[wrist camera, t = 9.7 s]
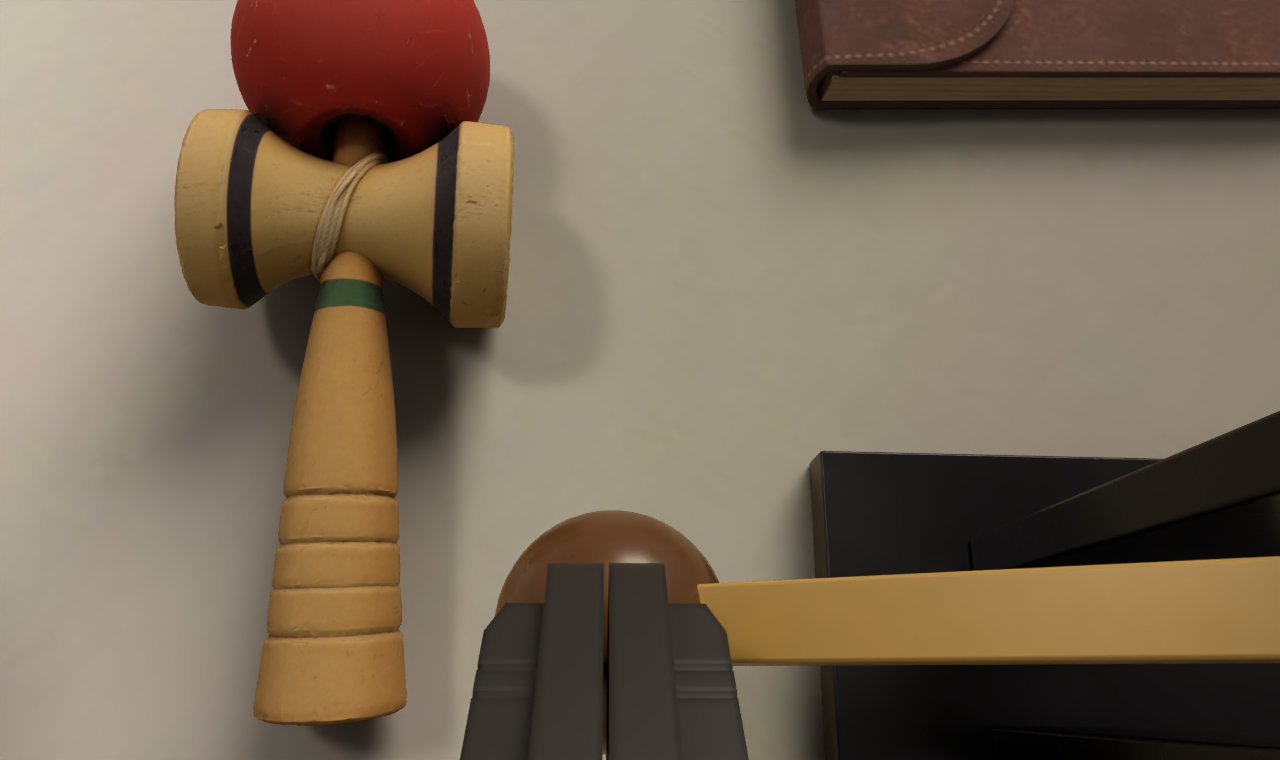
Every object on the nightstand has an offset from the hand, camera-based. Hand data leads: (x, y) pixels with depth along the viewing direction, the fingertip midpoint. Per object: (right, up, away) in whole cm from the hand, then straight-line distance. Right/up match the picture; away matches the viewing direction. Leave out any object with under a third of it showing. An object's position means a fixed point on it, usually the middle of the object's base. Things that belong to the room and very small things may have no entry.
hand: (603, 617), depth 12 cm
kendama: (-6, +4, +11) cm, 13 cm away
